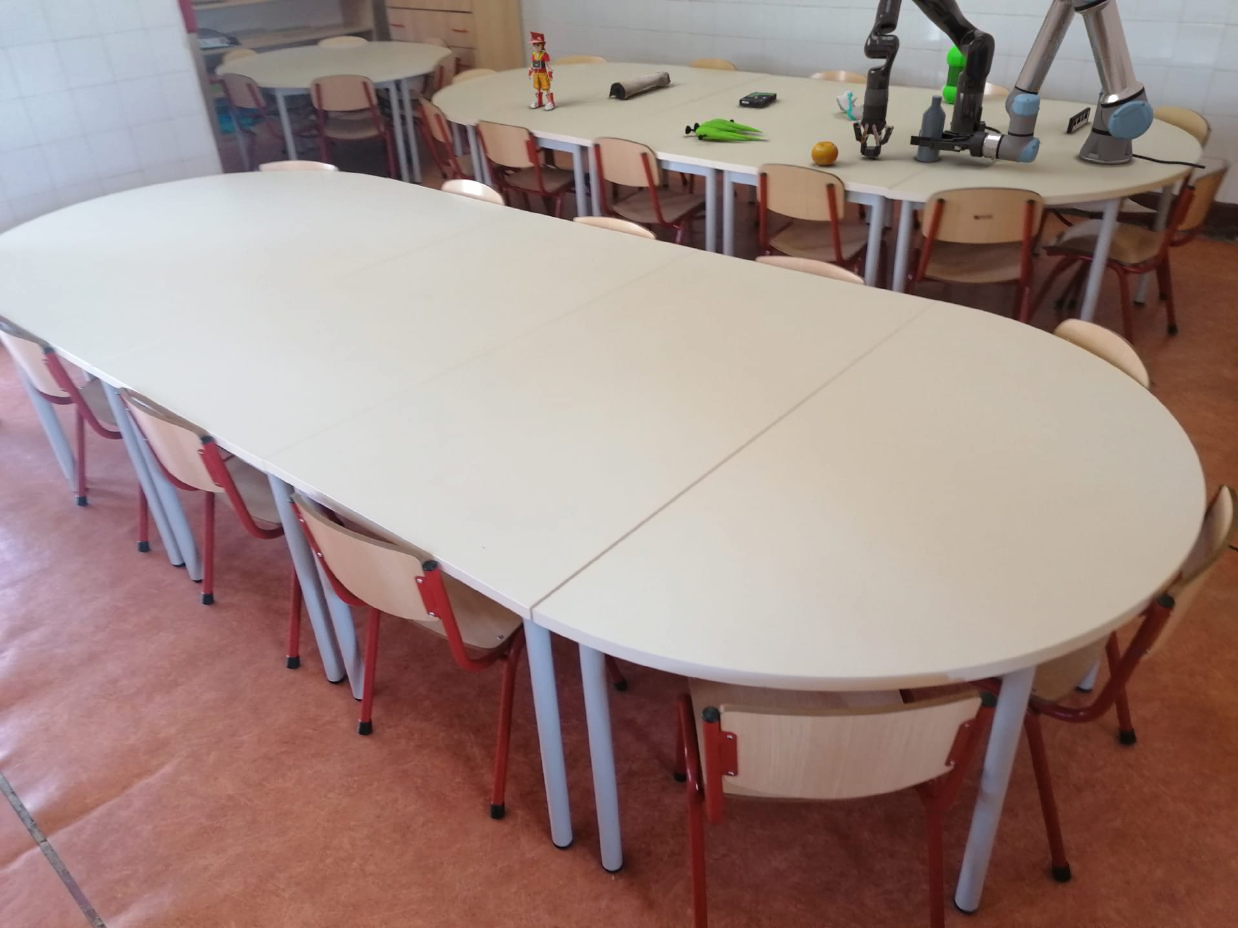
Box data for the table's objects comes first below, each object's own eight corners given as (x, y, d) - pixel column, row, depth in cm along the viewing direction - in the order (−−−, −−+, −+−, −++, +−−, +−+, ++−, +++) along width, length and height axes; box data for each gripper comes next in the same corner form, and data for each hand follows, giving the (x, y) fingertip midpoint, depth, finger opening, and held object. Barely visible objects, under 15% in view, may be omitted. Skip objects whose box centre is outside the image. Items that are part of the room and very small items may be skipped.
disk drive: (762, 109, 362) (776, 100, 372) (762, 101, 360) (777, 93, 370) (738, 106, 367) (753, 98, 377) (738, 99, 365) (754, 91, 375)
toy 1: (525, 109, 381) (517, 32, 364) (534, 104, 388) (527, 28, 371) (550, 110, 377) (543, 32, 360) (559, 105, 384) (553, 28, 367)
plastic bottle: (973, 101, 354) (984, 32, 339) (955, 106, 349) (966, 36, 335) (952, 97, 361) (962, 29, 346) (934, 102, 356) (944, 33, 342)
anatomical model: (831, 89, 347) (857, 82, 346) (834, 116, 353) (859, 109, 352) (842, 98, 335) (869, 91, 334) (845, 126, 341) (871, 118, 340)
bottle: (931, 163, 293) (942, 100, 281) (912, 159, 297) (921, 97, 285) (942, 158, 297) (953, 95, 285) (922, 154, 301) (932, 92, 289)
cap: (868, 152, 302) (868, 145, 301) (879, 154, 300) (879, 147, 298) (861, 155, 300) (862, 148, 298) (872, 157, 297) (872, 150, 296)
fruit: (804, 156, 294) (819, 134, 291) (809, 158, 302) (823, 137, 299) (825, 170, 293) (840, 148, 290) (829, 172, 300) (844, 151, 297)
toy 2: (674, 138, 327) (749, 153, 315) (675, 124, 324) (751, 138, 312) (709, 126, 347) (780, 139, 335) (710, 112, 345) (782, 125, 332)
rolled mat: (651, 76, 408) (662, 61, 399) (662, 93, 408) (674, 79, 400) (605, 92, 391) (616, 77, 383) (617, 110, 391) (628, 95, 383)
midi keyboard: (1070, 133, 311) (1073, 118, 308) (1066, 133, 312) (1069, 118, 309) (1087, 122, 322) (1091, 107, 319) (1084, 121, 322) (1087, 107, 319)
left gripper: (850, 102, 292) (845, 155, 301) (891, 107, 284) (884, 161, 294) (861, 97, 296) (856, 150, 306) (901, 102, 288) (894, 156, 298)
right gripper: (973, 165, 280) (902, 156, 291) (993, 149, 293) (924, 141, 304) (977, 141, 275) (905, 133, 287) (997, 125, 288) (927, 118, 300)
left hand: (870, 155), depth 300 cm, fingers closed on cap, 4 cm apart
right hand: (915, 137), depth 295 cm, fingers closed on bottle, 7 cm apart
